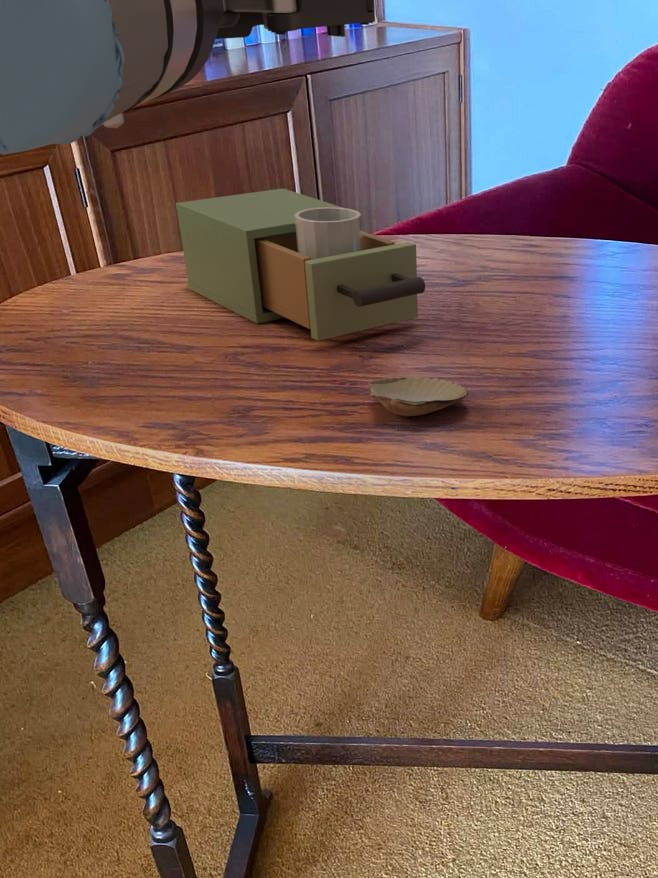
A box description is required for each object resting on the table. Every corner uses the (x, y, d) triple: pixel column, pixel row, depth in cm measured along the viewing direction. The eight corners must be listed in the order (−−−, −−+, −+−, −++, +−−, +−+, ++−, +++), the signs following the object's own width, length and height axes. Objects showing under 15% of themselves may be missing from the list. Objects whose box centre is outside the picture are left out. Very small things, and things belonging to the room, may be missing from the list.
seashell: (474, 423, 79) (396, 382, 81) (485, 389, 78) (405, 348, 80) (422, 443, 73) (339, 398, 75) (434, 406, 71) (348, 361, 73)
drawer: (444, 328, 91) (444, 253, 87) (343, 354, 85) (337, 274, 81) (341, 285, 102) (336, 217, 98) (245, 305, 96) (235, 233, 92)
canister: (291, 300, 94) (282, 212, 89) (342, 289, 97) (337, 204, 92) (324, 315, 90) (317, 225, 85) (377, 304, 93) (373, 215, 88)
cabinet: (364, 300, 100) (359, 212, 95) (257, 324, 94) (245, 230, 89) (291, 270, 109) (283, 188, 104) (189, 289, 103) (175, 203, 98)
